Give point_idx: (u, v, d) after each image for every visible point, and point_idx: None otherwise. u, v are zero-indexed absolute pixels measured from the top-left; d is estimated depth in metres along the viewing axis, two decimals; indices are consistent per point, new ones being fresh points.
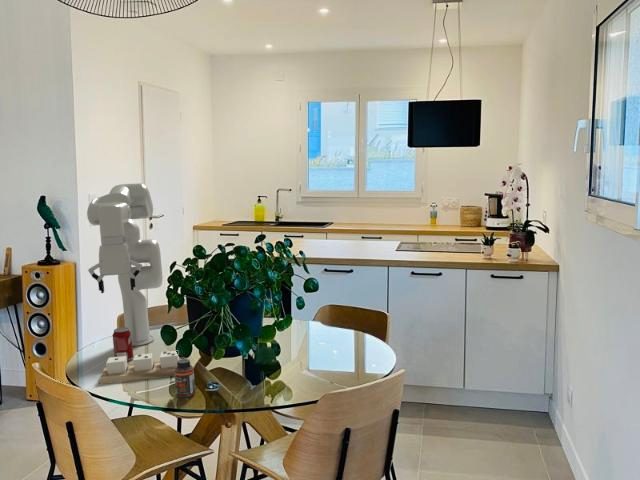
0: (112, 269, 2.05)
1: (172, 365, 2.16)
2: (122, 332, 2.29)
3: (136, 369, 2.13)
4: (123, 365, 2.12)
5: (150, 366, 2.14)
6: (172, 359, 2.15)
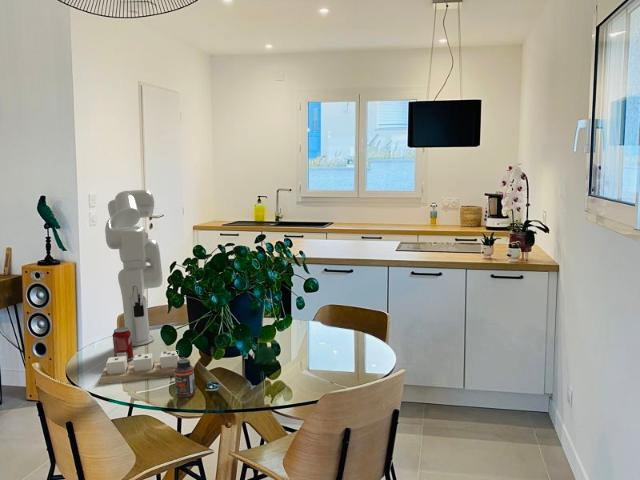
0: (143, 290, 2.12)
1: (172, 365, 2.16)
2: (122, 332, 2.29)
3: (136, 369, 2.13)
4: (123, 365, 2.12)
5: (150, 366, 2.14)
6: (172, 359, 2.15)
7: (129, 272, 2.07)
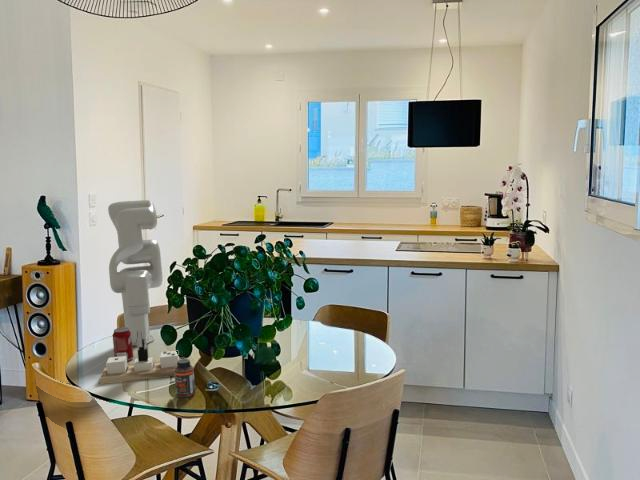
0: (147, 334, 2.15)
1: (172, 365, 2.16)
2: (122, 332, 2.29)
3: None
4: (123, 365, 2.12)
5: None
6: (172, 359, 2.15)
7: (133, 317, 2.09)
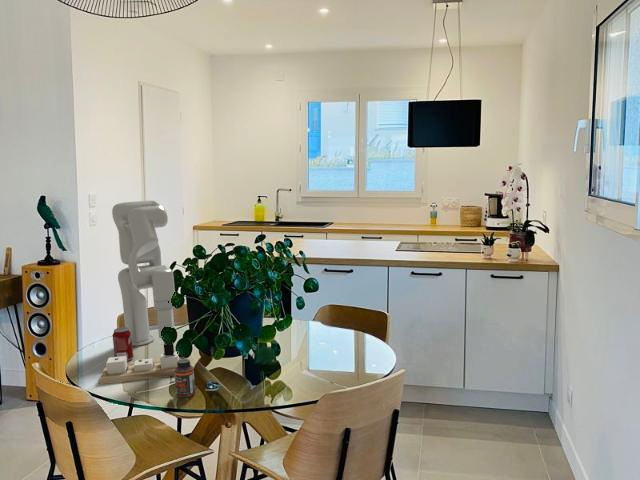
0: None
1: (172, 366, 2.16)
2: (122, 332, 2.29)
3: None
4: (123, 365, 2.12)
5: None
6: (172, 360, 2.15)
7: (160, 312, 2.11)
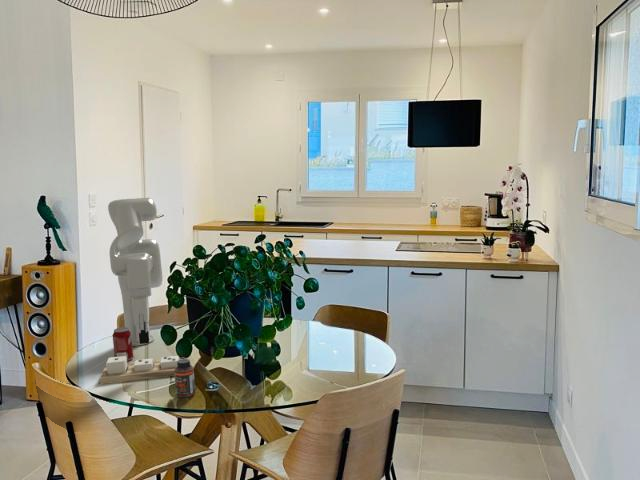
0: None
1: None
2: (122, 332, 2.29)
3: None
4: (123, 365, 2.12)
5: None
6: (172, 364, 2.16)
7: (135, 300, 2.09)
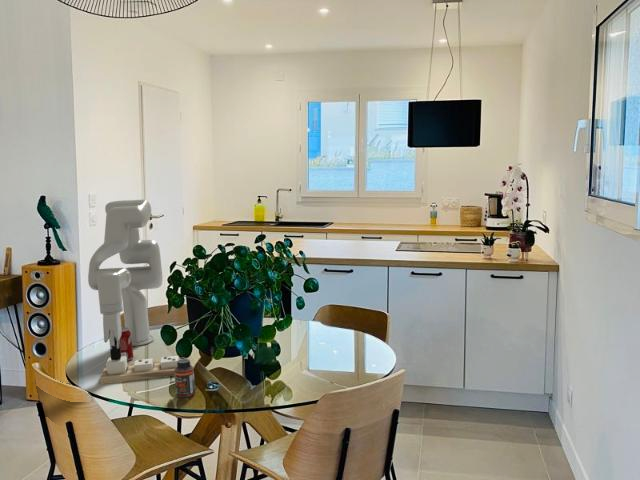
0: (120, 333, 2.13)
1: None
2: (122, 332, 2.29)
3: None
4: (123, 365, 2.12)
5: None
6: (172, 364, 2.16)
7: (105, 316, 2.08)
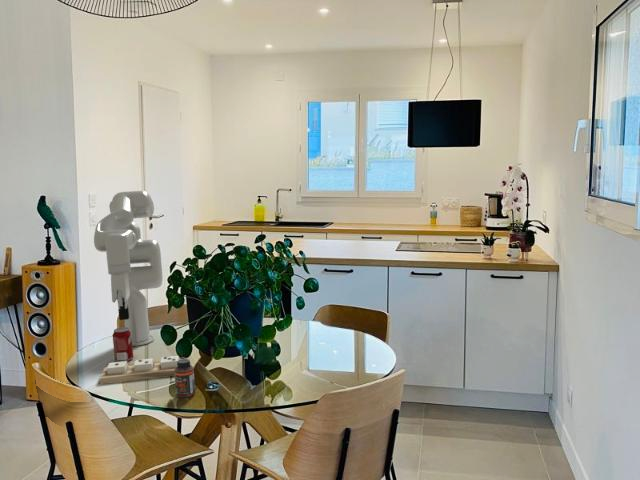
0: (128, 294, 2.15)
1: None
2: (122, 332, 2.29)
3: None
4: (124, 370, 2.13)
5: None
6: (172, 364, 2.16)
7: (113, 276, 2.09)
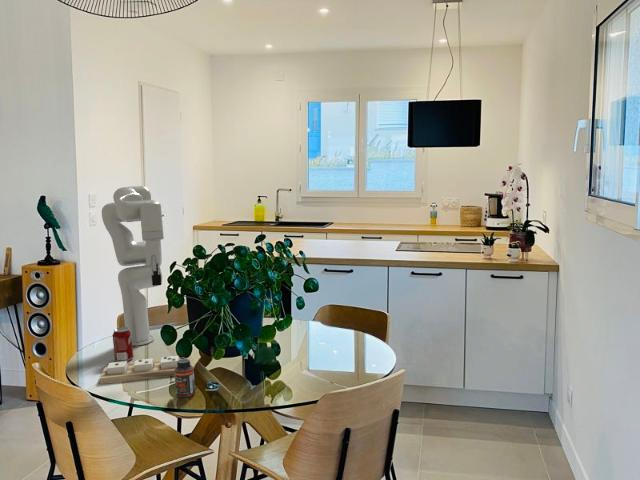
0: None
1: None
2: (122, 332, 2.29)
3: None
4: (124, 370, 2.13)
5: None
6: (172, 364, 2.16)
7: (148, 242, 2.18)
